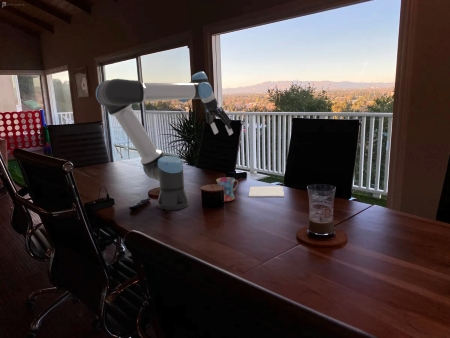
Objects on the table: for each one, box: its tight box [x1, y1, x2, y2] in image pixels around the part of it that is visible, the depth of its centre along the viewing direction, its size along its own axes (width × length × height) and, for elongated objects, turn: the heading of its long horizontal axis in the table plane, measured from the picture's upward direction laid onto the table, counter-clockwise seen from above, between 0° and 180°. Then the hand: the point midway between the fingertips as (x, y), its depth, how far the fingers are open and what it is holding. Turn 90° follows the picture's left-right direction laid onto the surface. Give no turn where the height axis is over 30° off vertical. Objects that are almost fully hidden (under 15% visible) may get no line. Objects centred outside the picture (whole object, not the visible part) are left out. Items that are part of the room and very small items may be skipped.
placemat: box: [248, 185, 285, 198], centre depth 173 cm, size 18×18×1 cm
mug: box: [216, 176, 239, 202], centre depth 162 cm, size 12×9×11 cm
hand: (223, 133), depth 185 cm, fingers open, 13 cm apart
